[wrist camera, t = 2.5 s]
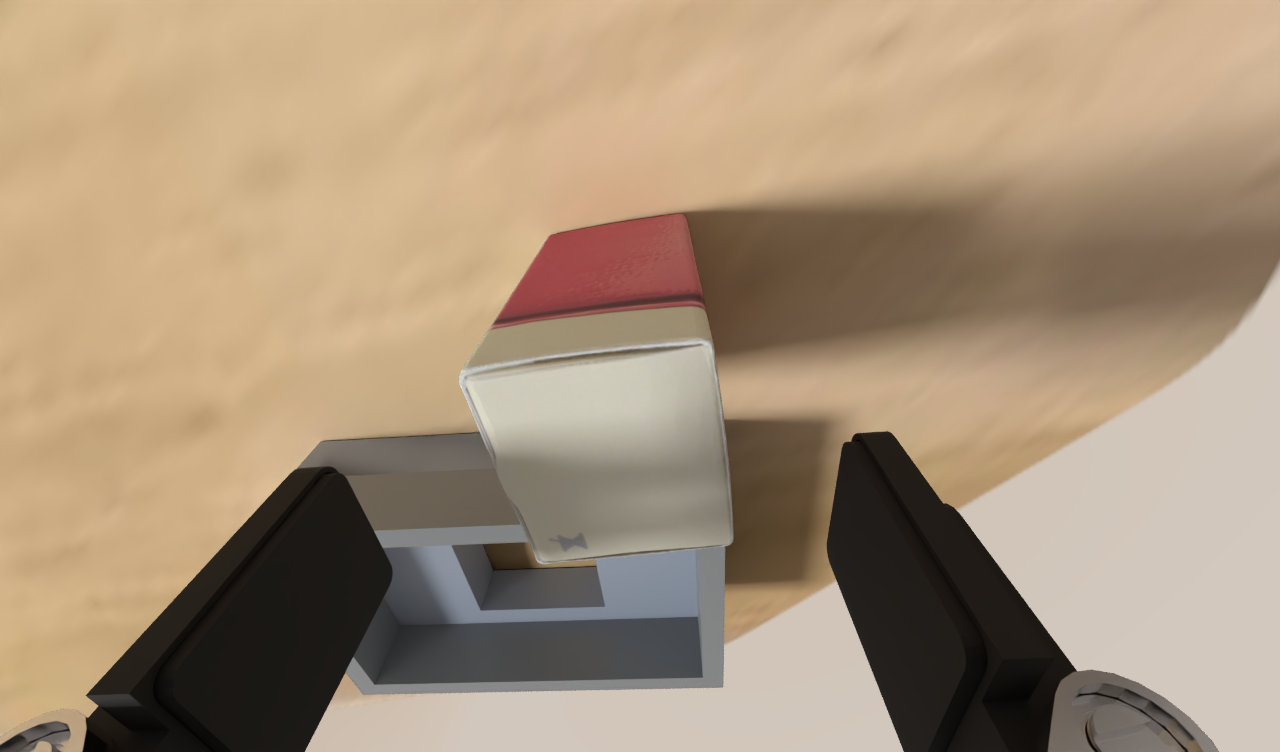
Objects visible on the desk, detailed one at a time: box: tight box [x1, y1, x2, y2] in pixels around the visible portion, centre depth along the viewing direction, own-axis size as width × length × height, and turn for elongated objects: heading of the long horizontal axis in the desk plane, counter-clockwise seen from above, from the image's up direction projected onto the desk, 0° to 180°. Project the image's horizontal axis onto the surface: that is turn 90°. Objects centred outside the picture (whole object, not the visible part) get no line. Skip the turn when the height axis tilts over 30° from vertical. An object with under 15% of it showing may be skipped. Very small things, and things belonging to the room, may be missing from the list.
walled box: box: [297, 433, 725, 695], centre depth 19 cm, size 15×10×4 cm, turn 95°
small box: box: [459, 214, 734, 565], centre depth 12 cm, size 5×4×8 cm
